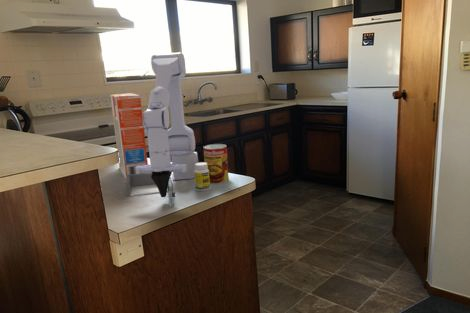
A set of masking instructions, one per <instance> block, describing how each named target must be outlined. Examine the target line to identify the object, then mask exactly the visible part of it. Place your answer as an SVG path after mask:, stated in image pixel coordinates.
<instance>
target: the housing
mask: <svg viewBox="0 0 470 313" xmlns="http://www.w3.org/2000/svg"><path fill="white" fill-rule="evenodd" d="M151 175H152V173H140V174H130V175H127V177H126V179H125V181H124V187H125V194H126V197H127V196H128V197H134V196H143V195H145V196H146V195H152V194H153V193H154V194H160V192H159V190H158V188H157V186H156V184H155V182H154V181H153V180H152V178H151ZM167 193H169V182H168V187H167Z"/></svg>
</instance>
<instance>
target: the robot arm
mask: <svg viewBox="0 0 470 313" xmlns="http://www.w3.org/2000/svg"><path fill="white" fill-rule="evenodd" d="M185 61H186V60H185V56H184V54H183V53H182V51H181V52H180V51H178V52H170V53H168V52H165V53H153V54H152V56H151V59H150V63H151V69H152V71H153V73H154V75H155V82H154V83H155V84H154V86H155V87H154V88H152V89H151V91H150V92H149V93H150V94H149V99H148V104H147V109H146V110H144V111H142V116H143V126H144V134H145V137H147V143H148V144H147V146H148V153H149V162H150V164H148V165H143V166H137V167H135V168H136V174H140V173H152V175H151V178H152V180H153V181H154V182H155V184H156V186H157V188H158V190H159V192H160V193H159V195H160V198H165V197H167V195H168V194H167V193H168V192H167V187H168V182H169V179H170V177H171V179H172V181H182V180H187V179H188V180H190V179H195V175H194V171H195V170H196V169H195V164H196V163H199V157H198V152H197V151H195V149H196V138H195V132H194V130H193V129H192V128H191V127H189V126H188V125H186V122H185V112H184V111H185V110H184V103H183V92H182V78H184V77H186V73H187V71H186V62H185ZM170 123H171V125H170ZM170 126H171V127H170ZM169 127H170V128H169Z"/></svg>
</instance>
